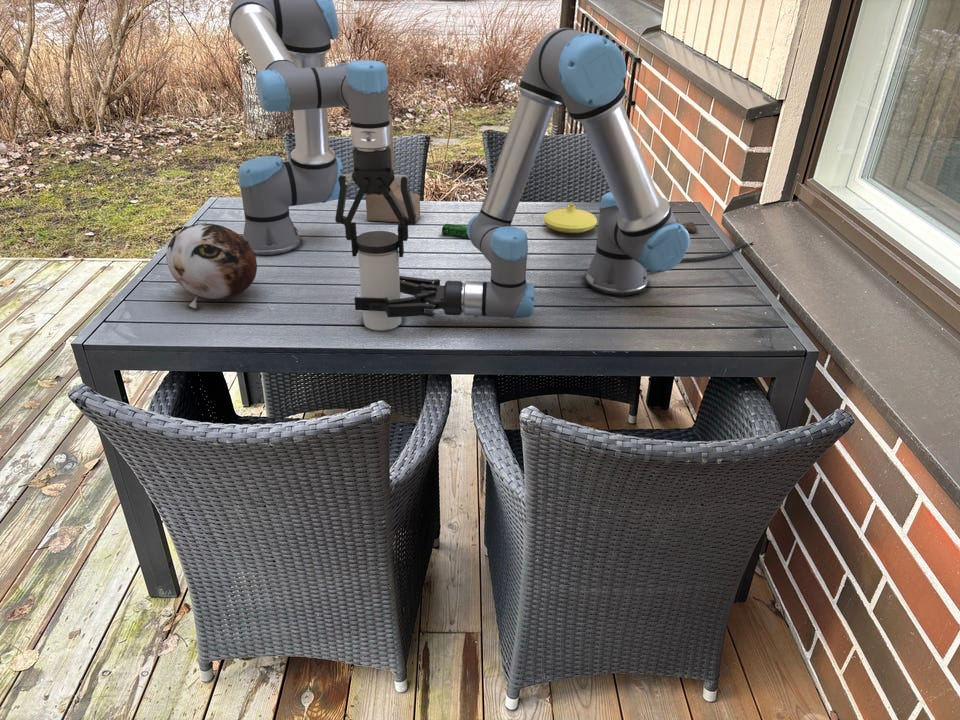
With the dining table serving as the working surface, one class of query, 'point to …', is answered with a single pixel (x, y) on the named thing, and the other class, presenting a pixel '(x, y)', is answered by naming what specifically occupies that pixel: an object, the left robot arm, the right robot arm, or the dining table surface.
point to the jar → (379, 286)
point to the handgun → (455, 230)
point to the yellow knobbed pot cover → (570, 220)
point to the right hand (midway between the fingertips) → (359, 294)
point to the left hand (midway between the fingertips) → (378, 254)
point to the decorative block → (379, 205)
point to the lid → (377, 242)
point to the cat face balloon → (211, 261)
